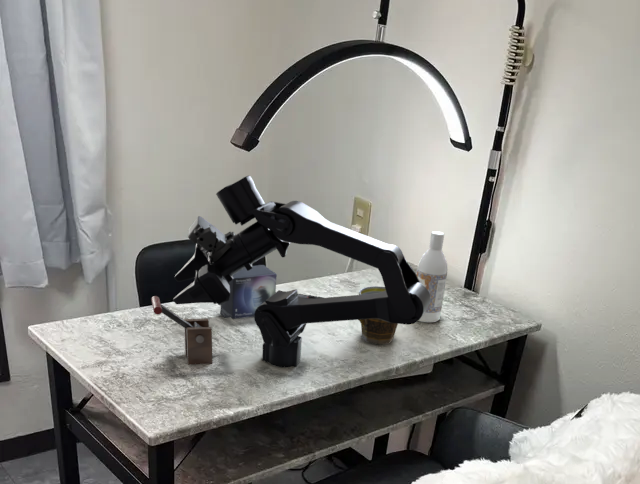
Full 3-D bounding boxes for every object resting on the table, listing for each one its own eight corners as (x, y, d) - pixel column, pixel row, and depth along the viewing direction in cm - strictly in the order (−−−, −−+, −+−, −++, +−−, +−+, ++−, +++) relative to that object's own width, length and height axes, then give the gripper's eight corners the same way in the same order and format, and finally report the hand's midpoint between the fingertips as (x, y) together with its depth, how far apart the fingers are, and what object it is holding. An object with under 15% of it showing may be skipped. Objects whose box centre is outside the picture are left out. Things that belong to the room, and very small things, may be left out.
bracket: (173, 375, 133) (171, 333, 129) (169, 357, 140) (167, 316, 135) (228, 372, 137) (228, 331, 132) (222, 355, 143) (221, 315, 139)
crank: (150, 313, 127) (158, 303, 127) (148, 302, 132) (156, 292, 131) (202, 348, 134) (210, 338, 133) (198, 336, 138) (206, 326, 137)
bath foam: (405, 313, 173) (416, 229, 163) (428, 310, 176) (441, 227, 166) (421, 324, 168) (434, 238, 158) (445, 321, 172) (459, 236, 161)
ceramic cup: (387, 328, 164) (393, 285, 159) (408, 345, 157) (414, 301, 152) (334, 332, 159) (338, 288, 154) (353, 350, 151) (357, 305, 146)
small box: (232, 325, 156) (232, 278, 151) (219, 314, 160) (219, 268, 155) (276, 319, 162) (277, 273, 156) (262, 308, 166) (263, 263, 161)
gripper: (220, 190, 132) (149, 233, 135) (222, 229, 118) (143, 277, 120) (254, 240, 139) (186, 281, 142) (260, 283, 125) (184, 327, 127)
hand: (175, 290), depth 132 cm, fingers open, 9 cm apart
